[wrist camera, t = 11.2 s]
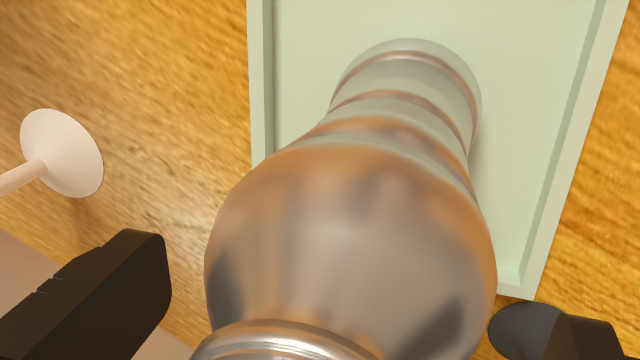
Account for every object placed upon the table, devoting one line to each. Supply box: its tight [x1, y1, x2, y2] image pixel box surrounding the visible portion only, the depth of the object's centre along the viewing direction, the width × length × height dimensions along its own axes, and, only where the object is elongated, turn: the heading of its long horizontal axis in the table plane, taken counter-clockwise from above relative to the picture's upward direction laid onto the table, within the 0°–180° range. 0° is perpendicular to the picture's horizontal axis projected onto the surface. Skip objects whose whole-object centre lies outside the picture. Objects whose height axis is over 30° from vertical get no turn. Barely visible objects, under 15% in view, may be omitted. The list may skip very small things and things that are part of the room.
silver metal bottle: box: [189, 38, 498, 360], centre depth 15 cm, size 6×7×20 cm
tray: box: [246, 0, 630, 301], centre depth 23 cm, size 20×16×2 cm
